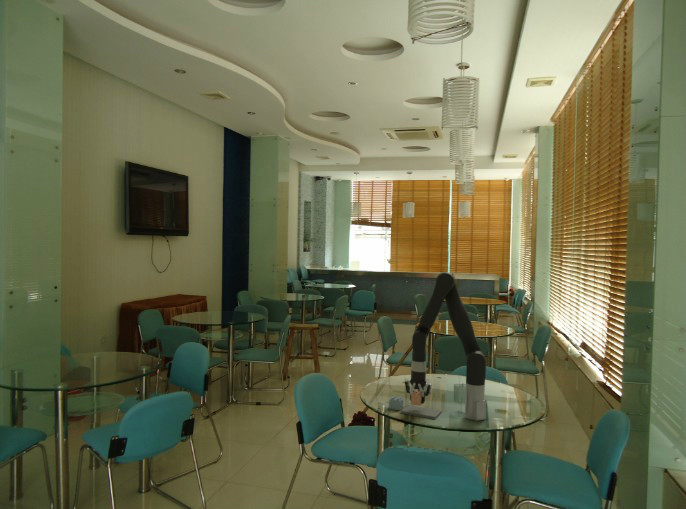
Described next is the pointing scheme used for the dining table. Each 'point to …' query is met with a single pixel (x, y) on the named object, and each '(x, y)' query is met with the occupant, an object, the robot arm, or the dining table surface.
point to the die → (428, 383)
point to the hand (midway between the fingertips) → (417, 402)
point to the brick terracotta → (416, 398)
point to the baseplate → (421, 412)
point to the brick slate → (396, 403)
